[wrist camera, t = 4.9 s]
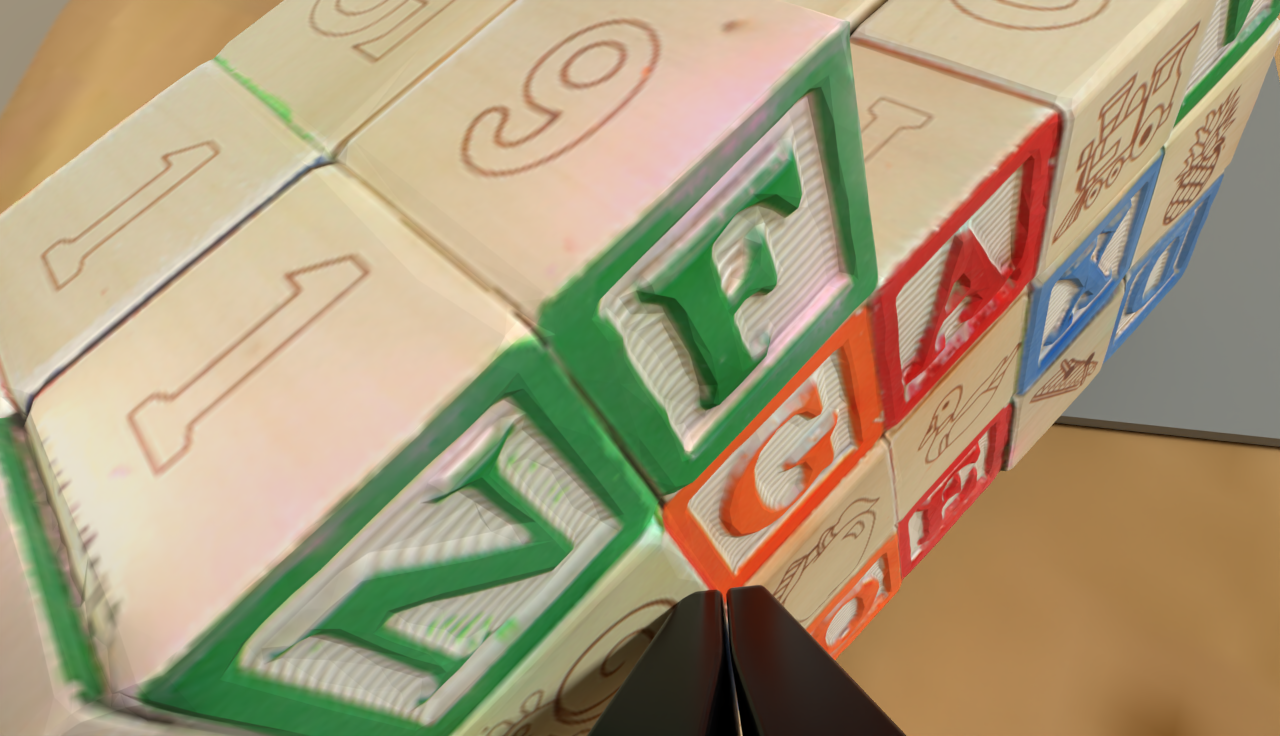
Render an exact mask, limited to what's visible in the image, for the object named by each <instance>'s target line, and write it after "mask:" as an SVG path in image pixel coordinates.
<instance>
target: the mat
mask: <svg viewBox="0 0 1280 736" xmlns="http://www.w3.org/2000/svg"><path fill="white" fill-rule="evenodd" d="M1054 423H1063V424H1073V425H1082V426H1091V427H1101V428H1110V429H1119V430H1128V431H1138V432H1147V433H1156V434H1165V435H1175V436H1184V437H1193V438H1203V439H1212V440H1221V441H1230V442H1240V443H1249V444H1258V445H1268V446H1277V447H1280V82H1279V77H1278V72H1277V67H1276V63H1275V58H1274V57H1273V59H1272V61H1271V64H1270V66H1269V69H1268V71H1267V73H1266V76H1265V79H1264V81H1263V84H1262V87H1261V89H1260V92H1259V95H1258V97H1257V100H1256V102H1255V105H1254V107H1253V109H1252V112H1251V114H1250V116H1249V119H1248V121H1247V123H1246V126H1245V128H1244V130H1243V133H1242V135H1241V138H1240V140H1239V143H1238V145H1237V148H1236V150H1235V153H1234V155H1233V158H1232V160H1231V163H1230V164H1229V165H1228V166H1227V167H1226V168H1225V169H1224V177H1223V179H1222V182H1221V185H1220V187H1219V190H1218V192H1217V194H1216V196H1215V199H1214V201H1213V203H1212V205H1211V208H1210V211H1209V214H1208V217H1207V219H1206V222H1205V224H1204V226H1203V228H1202V230H1201V232H1200V234H1199V237H1198V240H1197V243H1196V245H1195V248H1194V251H1193V254H1192V256H1191V259H1190V261H1189V264H1188V266H1187V268H1186V270H1185V272H1184V273H1183V275H1182V277H1181V278H1180V280H1179V281H1178V282H1177V283H1176V284H1175V286H1174V287H1173V288H1172V289H1171V290H1170V291H1169V292H1168V293H1167V294H1166V295H1165V296H1164V298H1163V299H1162V300H1161V301H1160V302H1159V304H1158V305H1157V306H1156V307H1155V308H1154V309H1153V310H1152V311H1151V312H1150V314H1149V315H1148V316H1147V317H1146V318H1145V319H1144V320H1143V322H1142V323H1141V324H1140V325H1139V326H1138V327H1137V328H1136V330H1135V331H1134V332H1133V333H1132V334H1131V335H1130V336H1129V337H1128V338H1127V339H1126V340H1125V342H1124V343H1123V344H1122V345H1121V346H1120V347H1119V348H1118V349H1117V350H1116V352H1115V353H1114V354H1113V355H1112V356H1111V357H1110V358H1109V359H1108V360H1107V361H1106V362H1105V363H1103V364H1102V367H1101V369H1100V371H1099V373H1098V374H1097V375H1096V376H1095V377H1094V379H1093V380H1092V381H1091V382H1090V383H1089V385H1088V386H1087V387H1086V388H1085V389H1084V390H1083V391H1082V392H1081V393H1080V395H1079V396H1078V397H1077V398H1076V399H1075V400H1074V401H1073V402H1072V403H1071V405H1070V406H1069V407H1068V408H1067V409H1066V410H1065V411H1064V412H1063V413H1062V414H1061V416H1060V417H1059V418H1058V419H1057V420H1056V421H1055V422H1054Z"/></svg>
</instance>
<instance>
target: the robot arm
mask: <svg viewBox="0 0 1280 736" xmlns="http://www.w3.org/2000/svg"><path fill="white" fill-rule="evenodd" d="M726 600H727V616H728V626H727V619H726V612H725V606H724V599H723V595H722V593H721V592H720V591H719V590H706V591H697V592H694V593H692V594H690V595H688V596H687V597H685V598H683V599H682V600H680V601H679V602H678V603H677V605H676V606H675V608H674V609H673V611H672V612H671V614H670V615H669V616H668V618H667V619H666V621H665V622H664V624H663V625H662V627H661V628H660V630H659V631H658V632H657V634H656V635H655V637H654V638H653V640H652V641H651V643H650V644H649V646H648V647H647V648H646V650H645V651H644V653H643V654H642V656H641V657H640V659H639V660H638V661H637V663H636V664H635V666H634V667H633V669H632V670H631V672H630V673H629V675H628V676H627V677H626V679H625V680H624V682H623V683H622V685H621V686H620V688H619V689H618V691H617V692H616V693H615V695H614V696H613V698H612V699H611V701H610V702H609V704H608V705H607V707H606V708H605V709H604V711H603V712H602V714H601V715H600V717H599V718H598V720H597V721H596V722H595V724H594V725H593V727H592V728H591V730H590V731H589V733H588V734H587V736H741V733H740V723H739V715H740V722H741V729H742V735H743V736H906V735H905V734H904V733H903V731H902V730H901V729H900V728H899V727H898V726H897V725H896V724H895V723H894V722H893V721H892V720H891V719H890V718H889V717H888V716H887V715H886V714H885V713H884V712H883V710H882V709H881V708H880V707H879V706H878V705H877V704H876V703H875V702H874V701H873V700H872V699H871V698H870V697H869V696H868V695H867V694H866V693H865V692H864V690H863V689H862V688H861V687H860V686H859V685H858V684H857V683H856V682H855V681H854V680H853V679H852V678H851V677H850V676H849V675H848V674H847V673H846V672H845V671H844V669H843V668H842V667H841V666H840V665H839V664H838V663H837V662H836V661H835V660H834V659H833V658H832V657H831V656H830V655H829V654H828V653H827V652H826V651H825V649H824V648H823V647H822V646H821V645H820V644H819V643H818V642H817V641H816V640H815V639H814V638H813V637H812V636H811V635H810V634H809V633H808V632H807V631H806V629H805V628H804V627H803V626H802V625H801V624H800V623H799V622H798V621H797V620H796V619H795V618H794V617H793V616H792V615H791V614H790V613H789V612H788V611H787V610H786V608H785V607H784V606H783V605H782V604H781V603H780V602H779V601H778V600H777V599H776V598H775V597H774V596H773V595H772V594H771V593H770V592H769V591H768V590H767V589H766V588H765V587H764V586H762V585H752V586H743V587H734V588H730V589H729V590H728V591H727V593H726ZM737 702H738V705H737ZM738 709H739V714H738Z"/></svg>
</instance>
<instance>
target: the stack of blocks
mask: <svg viewBox="0 0 1280 736" xmlns="http://www.w3.org/2000/svg"><path fill="white" fill-rule="evenodd" d="M1279 13H1280V0H284V1H283V2H281V3H280V4H279V5H277V6H276V7H275V8H273V9H272V10H271V11H270V12H268V13H267V14H266V15H264V16H263V17H262V18H260V19H259V20H258V21H256V22H255V23H254V24H252V25H251V26H250V27H248V28H247V29H246V30H244V31H243V32H242V33H240V34H239V35H238V36H236V37H235V38H234V39H232V40H231V41H230V42H229V43H228V44H227V45H226V46H225V47H224V48H223V49H222V50H221V52H220V53H219V54H218V55H217V56H216V57H215V58H214V59H212V60H210V61H208V62H206V63H204V64H202V65H200V66H198V67H197V68H195V69H194V70H192V71H191V72H189V73H188V74H187V75H185V76H184V77H182V78H181V79H179V80H178V81H176V82H175V83H174V84H172V85H171V86H169V87H168V88H166V89H165V90H163V91H162V92H161V93H159V94H158V95H156V96H155V97H153V98H152V99H151V100H149V101H148V102H147V103H145V104H144V105H142V106H141V107H140V108H138V109H137V110H136V111H134V112H133V113H132V114H130V115H129V116H128V117H126V118H125V119H124V120H122V121H121V122H120V123H119V124H117V125H116V126H115V127H113V128H112V129H111V130H109V131H108V132H107V133H106V134H104V135H103V136H102V137H100V138H99V139H98V140H97V141H95V142H94V143H93V144H91V145H90V146H89V147H88V148H86V149H85V150H84V151H82V152H81V153H80V154H79V155H77V156H76V157H75V158H73V159H72V160H71V161H70V162H68V163H67V164H65V165H64V166H63V167H61V168H60V169H58V170H57V171H56V172H54V173H53V174H51V175H50V176H49V177H47V178H46V179H44V180H43V181H42V182H40V183H39V184H38V185H36V186H35V187H34V188H33V189H31V190H30V191H29V192H28V193H26V194H25V195H24V196H23V197H21V198H20V199H19V200H18V201H16V202H15V203H14V204H13V205H11V206H10V207H9V208H8V209H6V210H5V211H4V212H3V213H1V214H0V736H587V734H588V733H589V731H590V730H591V728H592V727H593V725H594V724H595V722H596V721H597V720H598V718H599V717H600V715H601V714H602V712H603V711H604V709H605V708H606V707H607V705H608V704H609V702H610V701H611V699H612V698H613V696H614V695H615V693H616V692H617V691H618V689H619V688H620V686H621V685H622V683H623V682H624V680H625V679H626V677H627V676H628V675H629V673H630V672H631V670H632V669H633V667H634V666H635V664H636V663H637V661H638V660H639V659H640V657H641V656H642V654H643V653H644V651H645V650H646V648H647V647H648V646H649V644H650V643H651V641H652V640H653V638H654V637H655V635H656V634H657V632H658V631H659V630H660V628H661V627H662V625H663V624H664V622H665V621H666V619H667V618H668V616H669V615H670V614H671V612H672V611H673V609H674V608H675V606H676V605H677V603H678V602H679V601H680V600H682V599H683V598H685V597H687V596H688V595H690V594H692V593H694V592H697V591H706V590H719V591H720V592H721V593H722V595H723V599H724V606H725V612H726V619H727V626H728V616H727V600H726V593H727V591H728V590H729V589H730V588H734V587H743V586H752V585H762V586H764V587H765V588H766V589H767V590H768V591H769V592H770V593H771V594H772V595H773V596H774V597H775V598H776V599H777V600H778V601H779V602H780V603H781V604H782V605H783V606H784V607H785V608H786V610H787V611H788V612H789V613H790V614H791V615H792V616H793V617H794V618H795V619H796V620H797V621H798V622H799V623H800V624H801V625H802V626H803V627H804V628H805V629H806V631H807V632H808V633H809V634H810V635H811V636H812V637H813V638H814V639H815V640H816V641H817V642H818V643H819V644H820V645H821V646H822V647H823V648H824V649H825V651H826V652H827V653H828V654H829V655H830V656H831V657H832V658H833V659H834V660H836V659H837V657H838V656H839V655H840V653H841V652H842V651H844V650H845V649H846V648H847V647H848V646H849V645H850V644H851V643H852V641H853V640H854V639H855V638H856V637H857V636H858V635H859V634H860V632H861V631H862V630H863V629H864V628H865V627H866V626H867V625H868V623H869V622H870V621H871V620H872V619H873V618H874V617H875V616H876V615H877V614H878V612H879V611H880V610H881V609H882V608H883V607H884V606H885V605H886V604H887V603H888V601H889V600H890V599H891V598H892V597H893V596H894V595H895V594H896V593H897V592H898V591H899V589H900V586H901V583H902V580H903V578H904V577H905V576H907V575H908V574H909V573H910V572H911V571H912V570H913V568H914V567H915V566H916V565H917V564H918V563H919V562H920V561H921V560H922V559H923V558H924V557H925V556H926V555H927V554H928V552H929V551H930V550H931V549H932V548H933V547H934V546H935V545H936V544H937V543H938V542H939V541H940V539H941V538H942V537H943V536H944V535H945V534H946V533H947V532H948V530H949V529H950V528H951V527H952V526H953V525H954V524H955V523H956V521H957V520H958V519H959V518H960V517H961V515H962V514H963V513H964V512H965V511H966V510H967V509H968V508H969V507H970V506H971V505H972V504H973V503H974V501H975V500H976V499H977V498H978V496H979V495H980V494H981V493H982V492H983V491H984V490H985V489H986V488H987V487H988V486H989V485H990V484H991V482H992V481H993V480H994V479H995V477H996V475H997V474H998V472H1000V471H1008V470H1010V469H1012V468H1013V467H1014V466H1015V465H1016V464H1017V463H1018V462H1019V461H1020V459H1021V458H1022V457H1023V456H1024V455H1025V454H1026V453H1027V452H1028V451H1029V450H1030V449H1031V447H1032V446H1033V445H1034V444H1035V443H1036V442H1037V441H1038V440H1039V439H1040V438H1041V436H1042V435H1043V434H1044V433H1045V432H1046V431H1047V430H1048V429H1049V428H1050V427H1051V426H1052V424H1053V423H1054V422H1055V421H1056V420H1057V419H1058V418H1059V417H1060V416H1061V414H1062V413H1063V412H1064V411H1065V410H1066V409H1067V408H1068V407H1069V406H1070V405H1071V403H1072V402H1073V401H1074V400H1075V399H1076V398H1077V397H1078V396H1079V395H1080V393H1081V392H1082V391H1083V390H1084V389H1085V388H1086V387H1087V386H1088V385H1089V383H1090V382H1091V381H1092V380H1093V379H1094V377H1095V376H1096V375H1097V374H1098V373H1099V371H1100V369H1101V367H1102V364H1103V363H1105V362H1106V361H1107V360H1108V359H1109V358H1110V357H1111V356H1112V355H1113V354H1114V353H1115V352H1116V350H1117V349H1118V348H1119V347H1120V346H1121V345H1122V344H1123V343H1124V342H1125V340H1126V339H1127V338H1128V337H1129V336H1130V335H1131V334H1132V333H1133V332H1134V331H1135V330H1136V328H1137V327H1138V326H1139V325H1140V324H1141V323H1142V322H1143V320H1144V319H1145V318H1146V317H1147V316H1148V315H1149V314H1150V312H1151V311H1152V310H1153V309H1154V308H1155V307H1156V306H1157V305H1158V304H1159V302H1160V301H1161V300H1162V299H1163V298H1164V296H1165V295H1166V294H1167V293H1168V292H1169V291H1170V290H1171V289H1172V288H1173V287H1174V286H1175V284H1176V283H1177V282H1178V281H1179V280H1180V278H1181V277H1182V275H1183V273H1184V272H1185V270H1186V268H1187V266H1188V264H1189V261H1190V259H1191V256H1192V254H1193V251H1194V248H1195V245H1196V243H1197V240H1198V237H1199V234H1200V232H1201V230H1202V228H1203V226H1204V224H1205V222H1206V219H1207V217H1208V214H1209V211H1210V208H1211V205H1212V203H1213V201H1214V199H1215V196H1216V194H1217V192H1218V190H1219V187H1220V185H1221V182H1222V179H1223V177H1224V169H1225V168H1226V167H1227V166H1228V165H1229V164H1230V163H1231V160H1232V158H1233V155H1234V153H1235V150H1236V148H1237V145H1238V143H1239V140H1240V138H1241V135H1242V133H1243V130H1244V128H1245V126H1246V123H1247V121H1248V119H1249V116H1250V114H1251V112H1252V109H1253V107H1254V105H1255V102H1256V100H1257V97H1258V95H1259V92H1260V89H1261V87H1262V84H1263V81H1264V79H1265V76H1266V73H1267V71H1268V69H1269V66H1270V64H1271V61H1272V59H1273V57H1274V54H1275V52H1276V49H1277V47H1278V45H1279V42H1280V19H1278V18H1277V17H1278V15H1279ZM737 705H738V702H737ZM738 714H739V709H738ZM739 723H740V733H741V736H743V735H742V729H741V722H740V715H739Z"/></svg>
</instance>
